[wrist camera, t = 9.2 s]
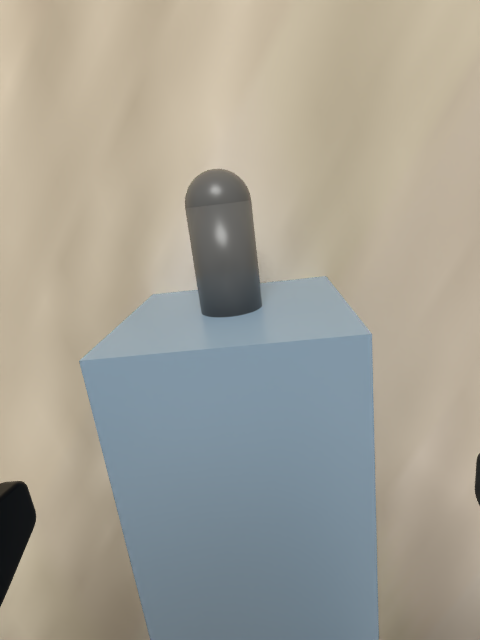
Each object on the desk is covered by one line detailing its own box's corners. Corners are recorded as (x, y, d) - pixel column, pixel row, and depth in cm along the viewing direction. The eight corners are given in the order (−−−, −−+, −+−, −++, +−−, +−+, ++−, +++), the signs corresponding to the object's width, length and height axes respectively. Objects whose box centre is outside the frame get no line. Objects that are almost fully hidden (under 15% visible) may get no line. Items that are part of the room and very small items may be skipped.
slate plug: (339, 524, 14) (380, 697, 9) (198, 531, 14) (165, 700, 9) (319, 162, 10) (367, 135, 6) (133, 187, 11) (33, 179, 6)
